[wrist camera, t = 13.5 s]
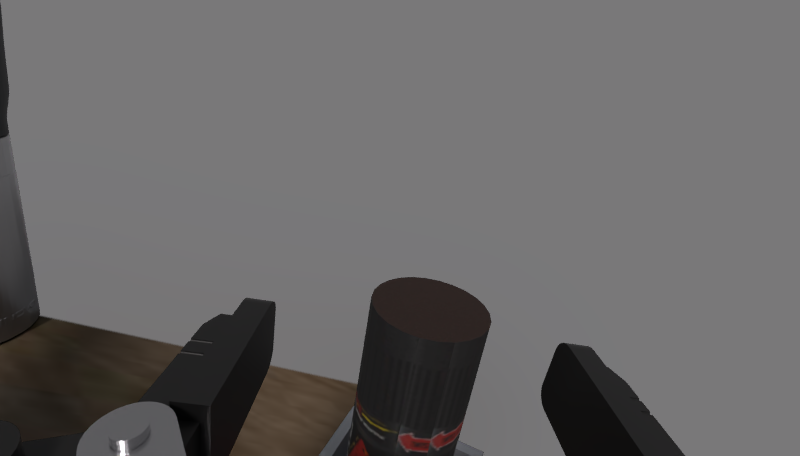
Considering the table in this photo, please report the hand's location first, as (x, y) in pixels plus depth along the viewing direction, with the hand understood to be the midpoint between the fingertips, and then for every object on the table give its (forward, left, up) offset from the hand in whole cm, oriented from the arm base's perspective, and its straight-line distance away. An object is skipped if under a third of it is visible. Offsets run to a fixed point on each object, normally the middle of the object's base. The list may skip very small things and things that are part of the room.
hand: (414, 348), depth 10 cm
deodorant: (+2, +7, -18) cm, 19 cm away
